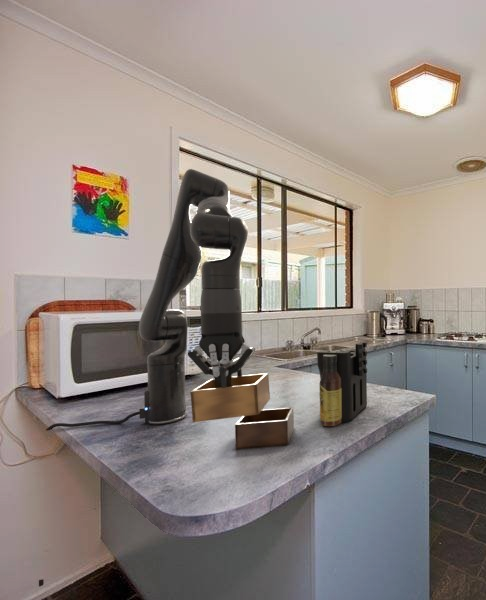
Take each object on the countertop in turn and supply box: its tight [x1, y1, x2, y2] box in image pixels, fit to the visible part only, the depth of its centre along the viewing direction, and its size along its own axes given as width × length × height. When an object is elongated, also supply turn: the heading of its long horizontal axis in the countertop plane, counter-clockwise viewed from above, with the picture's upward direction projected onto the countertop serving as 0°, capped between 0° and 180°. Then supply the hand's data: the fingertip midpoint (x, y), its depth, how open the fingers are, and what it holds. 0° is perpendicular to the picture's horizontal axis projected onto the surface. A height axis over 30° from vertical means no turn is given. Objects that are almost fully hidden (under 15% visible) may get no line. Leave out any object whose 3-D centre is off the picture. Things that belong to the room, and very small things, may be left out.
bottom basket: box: [234, 407, 295, 450], centre depth 84 cm, size 12×10×6 cm
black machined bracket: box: [316, 341, 368, 424], centre depth 103 cm, size 12×21×22 cm, turn 165°
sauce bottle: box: [318, 354, 342, 427], centre depth 93 cm, size 6×6×20 cm
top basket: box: [189, 357, 271, 423], centre depth 68 cm, size 12×10×10 cm
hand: (223, 393), depth 68 cm, fingers closed
